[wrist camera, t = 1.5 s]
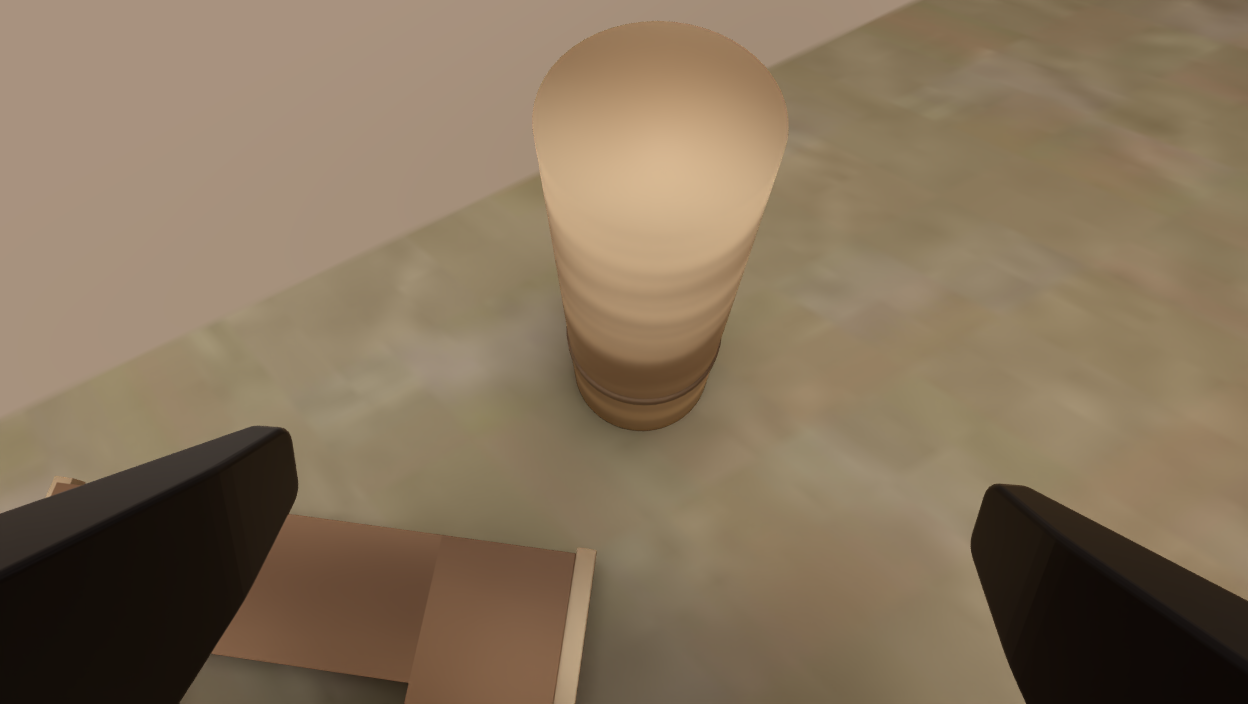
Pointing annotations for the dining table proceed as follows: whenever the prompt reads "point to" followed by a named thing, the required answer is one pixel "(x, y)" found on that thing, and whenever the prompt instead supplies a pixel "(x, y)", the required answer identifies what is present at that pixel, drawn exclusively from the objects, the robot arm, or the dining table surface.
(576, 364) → the peg
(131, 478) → the robot arm
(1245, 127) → the dining table surface
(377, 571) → the socket board
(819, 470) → the dining table surface
